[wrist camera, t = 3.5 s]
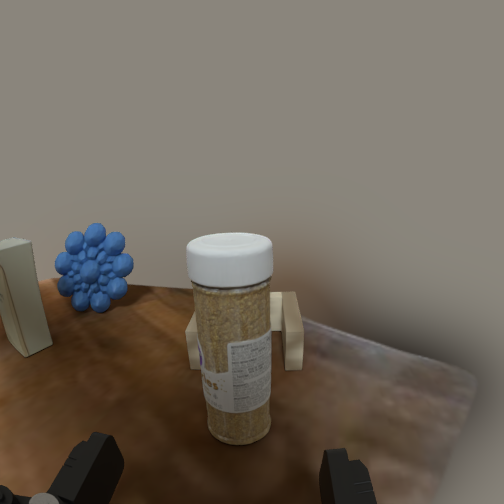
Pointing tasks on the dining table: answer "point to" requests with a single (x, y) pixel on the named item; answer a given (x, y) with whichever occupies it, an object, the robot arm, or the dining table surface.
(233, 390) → the spice jar
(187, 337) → the pocket
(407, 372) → the dining table surface
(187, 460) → the dining table surface
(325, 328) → the dining table surface
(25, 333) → the skincare box
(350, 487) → the robot arm
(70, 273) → the blue bumpy cluster
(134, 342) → the dining table surface
